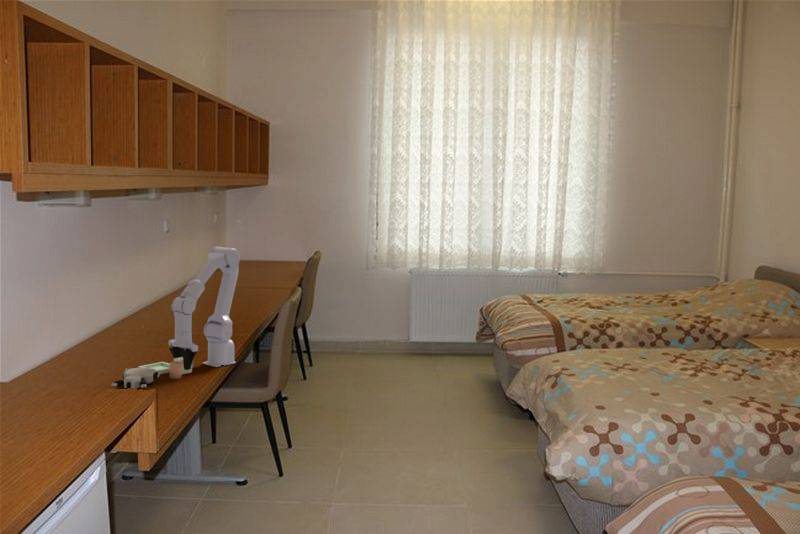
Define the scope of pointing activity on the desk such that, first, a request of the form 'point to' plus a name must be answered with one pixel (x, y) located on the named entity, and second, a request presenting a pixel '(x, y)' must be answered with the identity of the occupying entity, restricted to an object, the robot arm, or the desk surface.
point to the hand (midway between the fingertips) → (183, 368)
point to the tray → (158, 367)
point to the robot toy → (137, 378)
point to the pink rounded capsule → (175, 370)
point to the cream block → (183, 365)
